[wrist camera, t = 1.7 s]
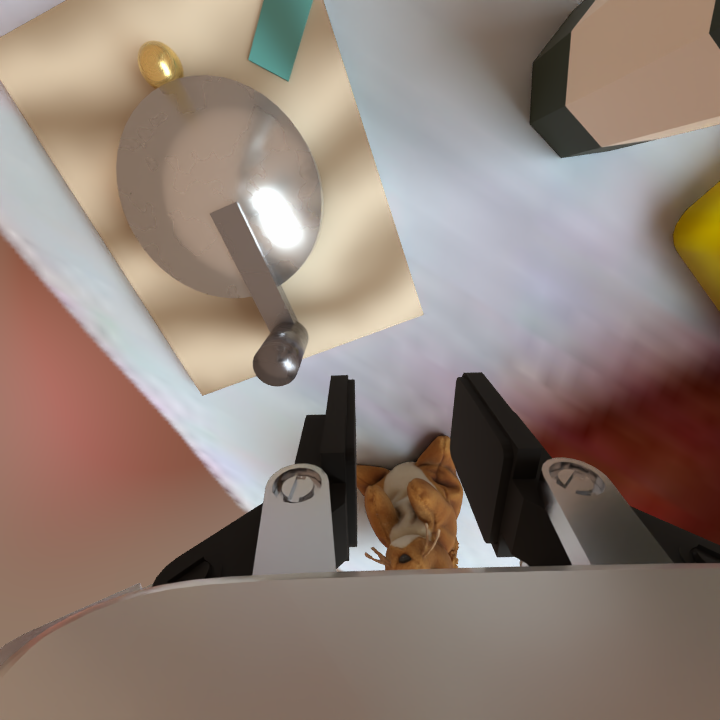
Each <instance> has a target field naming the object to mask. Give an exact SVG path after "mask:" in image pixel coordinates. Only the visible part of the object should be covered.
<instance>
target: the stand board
mask: <svg viewBox="0 0 720 720" xmlns="http://www.w3.org/2000/svg"><path fill="white" fill-rule="evenodd" d="M153 40H154V41H160V42H162V43H164V44H166V45H168V46H169V47H170V48H171V49H172V50H173V51H174V52H175V53H176V54H177V56H178V57H179V59H180V61H181V63H182V66H183V71H184V77H188V76H196V75H210V76H219V77H224V78H227V79H231V80H235V81H238V82H240V83H242V84H244V85H247V86H249V87H251V88H253V89H254V90H256V91H258V92H259V93H261V94H263V95H264V96H266V97H267V98H268V99H269V100H270V101H272V102H273V103H274V104H275V105H277V106H278V107H279V108H280V109H281V110H282V111H283V112H284V113H285V114H286V116H287V117H288V118H289V119H290V120H291V122H292V123H293V124H294V126H295V127H296V128H297V129H298V131H299V132H300V134H301V135H302V137H303V138H304V140H305V142H306V143H307V145H308V147H309V148H310V150H311V152H312V155H313V157H314V159H315V161H316V164H317V167H318V170H319V173H320V177H321V182H322V187H323V197H324V213H323V221H322V227H321V231H320V234H319V237H318V240H317V242H316V245H315V247H314V249H313V251H312V253H311V254H310V256H309V257H308V259H307V260H306V262H305V263H304V264H303V265H302V266H301V268H300V269H299V270H298V271H297V272H296V273H295V274H294V275H293V276H291V277H290V278H289V279H288V280H287V281H286V282H284V283H283V284H281V286H282V288H283V290H284V292H285V294H286V296H287V298H288V301H289V303H290V305H291V307H292V309H293V311H294V313H295V315H296V318H297V320H298V322H299V323H301V324H302V325H303V326H304V327H305V329H306V330H307V332H308V337H309V340H308V344H307V347H306V350H305V353H304V355H303V358H302V359H304V358H307V357H310V356H312V355H315V354H318V353H320V352H323V351H326V350H329V349H331V348H334V347H337V346H340V345H342V344H345V343H348V342H350V341H353V340H356V339H359V338H361V337H364V336H367V335H370V334H372V333H375V332H378V331H380V330H383V329H386V328H389V327H391V326H394V325H397V324H400V323H402V322H405V321H408V320H411V319H413V318H416V317H419V316H421V315H424V314H423V311H422V308H421V305H420V302H419V299H418V296H417V292H416V289H415V286H414V283H413V280H412V277H411V274H410V271H409V267H408V264H407V261H406V258H405V255H404V252H403V249H402V245H401V242H400V239H399V236H398V233H397V230H396V227H395V224H394V220H393V217H392V214H391V211H390V208H389V205H388V202H387V199H386V195H385V192H384V189H383V186H382V183H381V180H380V177H379V173H378V170H377V167H376V164H375V161H374V158H373V155H372V152H371V148H370V145H369V142H368V139H367V136H366V133H365V130H364V126H363V123H362V120H361V117H360V114H359V111H358V108H357V105H356V101H355V98H354V95H353V92H352V89H351V86H350V83H349V80H348V76H347V73H346V70H345V67H344V64H343V61H342V58H341V54H340V51H339V48H338V45H337V42H336V39H335V36H334V33H333V29H332V26H331V23H330V20H329V17H328V14H327V11H326V8H325V4H324V1H323V0H66V1H64V2H62V3H61V4H59V5H57V6H55V7H53V8H52V9H50V10H48V11H46V12H45V13H43V14H41V15H39V16H37V17H36V18H34V19H32V20H30V21H29V22H27V23H25V24H23V25H21V26H20V27H18V28H16V29H14V30H13V31H11V32H9V33H7V34H5V35H4V36H2V37H0V80H1V82H2V83H3V85H4V87H5V88H6V90H7V91H8V93H9V94H10V96H11V97H12V99H13V101H14V102H15V104H16V105H17V107H18V108H19V110H20V112H21V113H22V115H23V116H24V118H25V119H26V121H27V122H28V124H29V126H30V127H31V129H32V130H33V132H34V133H35V135H36V137H37V138H38V140H39V141H40V143H41V144H42V146H43V147H44V149H45V151H46V152H47V154H48V155H49V157H50V158H51V160H52V162H53V163H54V165H55V166H56V168H57V169H58V171H59V172H60V174H61V176H62V177H63V179H64V180H65V182H66V183H67V185H68V187H69V188H70V190H71V191H72V193H73V194H74V196H75V197H76V199H77V201H78V202H79V204H80V205H81V207H82V208H83V210H84V212H85V213H86V215H87V216H88V218H89V219H90V221H91V222H92V224H93V226H94V227H95V229H96V230H97V232H98V233H99V235H100V237H101V238H102V240H103V241H104V243H105V244H106V246H107V247H108V249H109V251H110V252H111V254H112V255H113V257H114V258H115V260H116V262H117V263H118V265H119V266H120V268H121V269H122V271H123V272H124V274H125V276H126V277H127V279H128V280H129V282H130V283H131V285H132V287H133V288H134V290H135V291H136V293H137V294H138V296H139V297H140V299H141V301H142V302H143V304H144V305H145V307H146V308H147V310H148V312H149V313H150V315H151V316H152V318H153V319H154V321H155V322H156V324H157V326H158V327H159V329H160V330H161V332H162V333H163V335H164V337H165V338H166V340H167V341H168V343H169V344H170V346H171V347H172V349H173V351H174V352H175V354H176V355H177V357H178V358H179V360H180V362H181V363H182V365H183V366H184V368H185V369H186V371H187V372H188V374H189V376H190V377H191V379H192V380H193V382H194V383H195V385H196V387H197V388H198V390H199V391H200V393H201V394H202V396H203V395H206V394H209V393H211V392H214V391H217V390H219V389H222V388H225V387H228V386H230V385H233V384H236V383H239V382H241V381H244V380H247V379H249V378H252V377H255V376H256V374H255V372H254V370H253V358H254V356H255V354H256V353H257V351H258V350H259V348H260V347H261V345H262V344H263V343H264V341H265V340H266V338H267V337H268V335H269V334H270V331H269V329H268V327H267V325H266V323H265V321H264V319H263V317H262V316H261V314H260V312H259V310H258V308H257V306H256V304H255V302H254V300H253V298H252V297H246V298H223V297H217V296H212V295H208V294H205V293H202V292H199V291H196V290H194V289H192V288H190V287H188V286H186V285H184V284H182V283H181V282H179V281H177V280H176V279H174V278H173V277H171V276H170V275H169V274H168V273H166V272H165V271H164V270H163V269H162V268H161V267H159V266H158V265H157V264H156V263H155V262H154V261H153V260H152V259H151V257H150V256H149V255H148V254H147V253H146V251H145V250H144V249H143V247H142V246H141V245H140V243H139V242H138V240H137V239H136V237H135V235H134V233H133V231H132V230H131V228H130V226H129V224H128V221H127V219H126V216H125V214H124V211H123V208H122V205H121V201H120V198H119V192H118V186H117V175H116V163H117V152H118V147H119V143H120V138H121V135H122V133H123V130H124V128H125V125H126V123H127V121H128V119H129V118H130V116H131V114H132V112H133V111H134V110H135V108H136V107H137V106H138V105H139V104H140V102H141V101H142V100H143V99H144V98H145V97H146V96H148V95H149V94H150V93H151V92H152V91H154V90H155V89H154V88H153V87H152V86H150V85H149V84H148V83H147V81H146V80H145V79H144V77H143V76H142V74H141V72H140V69H139V66H138V61H137V56H138V51H139V49H140V47H141V46H142V45H143V44H144V43H145V42H148V41H153Z"/></svg>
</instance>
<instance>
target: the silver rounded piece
mask: <svg viewBox="0 0 720 720" xmlns="http://www.w3.org/2000/svg"><path fill="white" fill-rule="evenodd" d="M137 61H138V66H139V69H140V72H141V74H142V76H143V77H144V79H145V80H146V81H147V83H148V84H149V85H150V86H152V87H153V88H154V89H155V90H154V91H152V92H151V93H150V94H149V95H148V96H146V97H145V98H144V99H143V100H142V101H141V102H140V104H139V105H138V106H137V107H136V108H135V110H134V111H133V112H132V114H131V116H130V118H129V119H128V121H127V123H126V125H125V128H124V130H123V133H122V135H121V138H120V143H119V147H118V152H117V163H116V175H117V186H118V192H119V198H120V201H121V205H122V208H123V211H124V214H125V216H126V219H127V221H128V224H129V226H130V228H131V230H132V231H133V233H134V235H135V237H136V239H137V240H138V242H139V243H140V245H141V246H142V247H143V249H144V250H145V251H146V253H147V254H148V255H149V256H150V257H151V259H152V260H153V261H154V262H155V263H156V264H157V265H158V266H159V267H161V268H162V269H163V270H164V271H165V272H166V273H168V274H169V275H170V276H171V277H173V278H174V279H176V280H177V281H179V282H181V283H182V284H184V285H186V286H188V287H190V288H192V289H194V290H196V291H199V292H202V293H205V294H208V295H212V296H217V297H223V298H246V297H252V298H253V300H254V302H255V304H256V306H257V308H258V310H259V312H260V314H261V316H262V317H263V319H264V321H265V323H266V325H267V327H268V329H269V331H270V334H269V335H268V337H267V338H266V340H265V341H264V343H263V344H262V345H261V347H260V348H259V350H258V351H257V353H256V354H255V356H254V358H253V370H254V372H255V374H256V376H257V377H258V378H259V379H260V380H261V381H262V382H264V383H266V384H268V385H271V386H283V385H286V384H288V383H290V382H291V381H292V380H293V379H294V378H295V377H296V375H297V372H298V369H299V367H300V364H301V361H302V358H303V355H304V353H305V350H306V347H307V344H308V340H309V337H308V332H307V330H306V329H305V327H304V326H303V325H302V324H301V323H299V322H298V320H297V318H296V315H295V313H294V311H293V309H292V307H291V305H290V303H289V301H288V298H287V296H286V294H285V292H284V290H283V288H282V286H281V284H283V283H284V282H286V281H287V280H288V279H289V278H290V277H291V276H293V275H294V274H295V273H296V272H297V271H298V270H299V269H300V268H301V266H302V265H303V264H304V263H305V262H306V260H307V259H308V257H309V256H310V254H311V253H312V251H313V249H314V247H315V245H316V242H317V240H318V237H319V234H320V231H321V227H322V221H323V213H324V197H323V187H322V182H321V177H320V173H319V170H318V167H317V164H316V161H315V159H314V157H313V155H312V152H311V150H310V148H309V147H308V145H307V143H306V142H305V140H304V138H303V137H302V135H301V134H300V132H299V131H298V129H297V128H296V127H295V126H294V124H293V123H292V122H291V120H290V119H289V118H288V117H287V116H286V114H285V113H284V112H283V111H282V110H281V109H280V108H279V107H278V106H277V105H275V104H274V103H273V102H272V101H270V100H269V99H268V98H267V97H266V96H264V95H263V94H261V93H259V92H258V91H256V90H254V89H253V88H251V87H249V86H247V85H244V84H242V83H240V82H238V81H235V80H231V79H227V78H224V77H219V76H210V75H196V76H188V77H184V71H183V66H182V63H181V61H180V59H179V57H178V56H177V54H176V53H175V52H174V51H173V50H172V49H171V48H170V47H169V46H168V45H166V44H164V43H162V42H160V41H154V40H153V41H148V42H145V43H144V44H143V45H142V46H141V47H140V49H139V51H138V56H137Z"/></svg>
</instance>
